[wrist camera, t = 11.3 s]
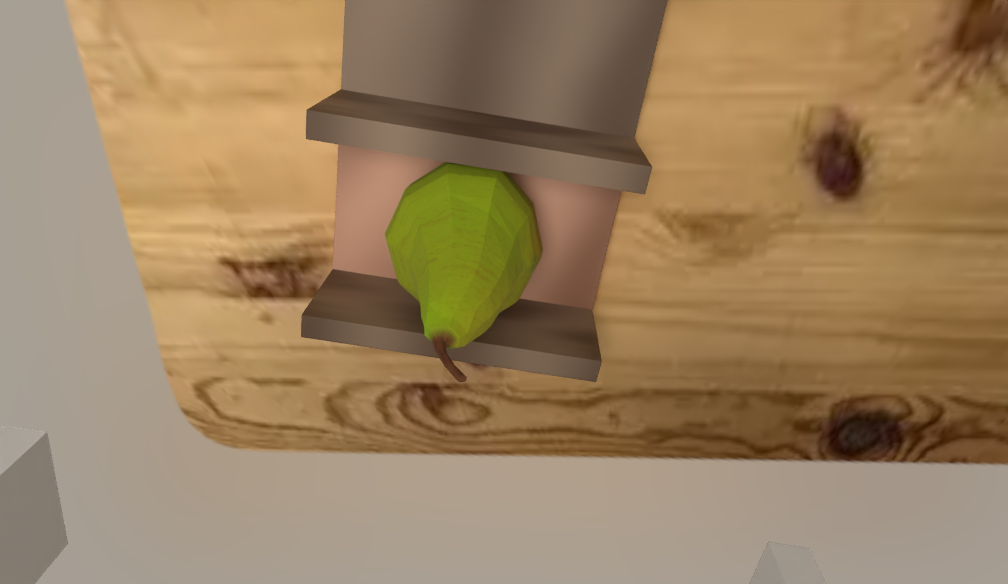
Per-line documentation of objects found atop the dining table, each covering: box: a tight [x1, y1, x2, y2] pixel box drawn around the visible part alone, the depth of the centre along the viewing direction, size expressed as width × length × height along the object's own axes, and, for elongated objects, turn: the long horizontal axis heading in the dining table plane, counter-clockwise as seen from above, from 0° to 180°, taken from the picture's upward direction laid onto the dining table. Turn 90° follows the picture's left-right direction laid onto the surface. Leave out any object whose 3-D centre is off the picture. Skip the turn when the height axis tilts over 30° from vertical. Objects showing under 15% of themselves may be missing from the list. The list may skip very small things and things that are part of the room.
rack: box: [301, 0, 667, 382], centre depth 25 cm, size 12×17×6 cm
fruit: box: [385, 162, 543, 382], centre depth 23 cm, size 6×6×12 cm
